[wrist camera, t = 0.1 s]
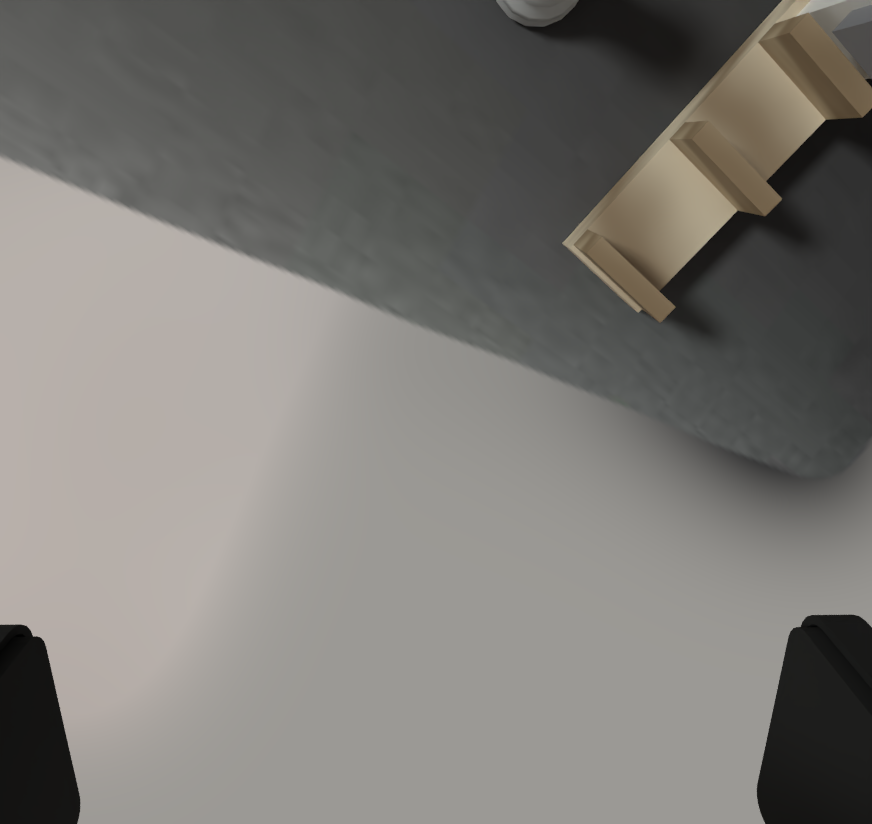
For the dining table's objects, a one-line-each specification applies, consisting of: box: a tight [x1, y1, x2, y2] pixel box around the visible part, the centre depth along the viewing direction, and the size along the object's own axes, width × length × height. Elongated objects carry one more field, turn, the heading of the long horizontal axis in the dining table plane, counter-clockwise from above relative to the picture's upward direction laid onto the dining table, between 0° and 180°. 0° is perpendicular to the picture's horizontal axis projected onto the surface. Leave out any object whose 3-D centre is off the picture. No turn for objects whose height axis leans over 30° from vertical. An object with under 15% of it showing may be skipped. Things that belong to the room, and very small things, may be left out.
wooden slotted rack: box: [562, 0, 872, 323], centre depth 34 cm, size 20×5×5 cm, turn 139°
